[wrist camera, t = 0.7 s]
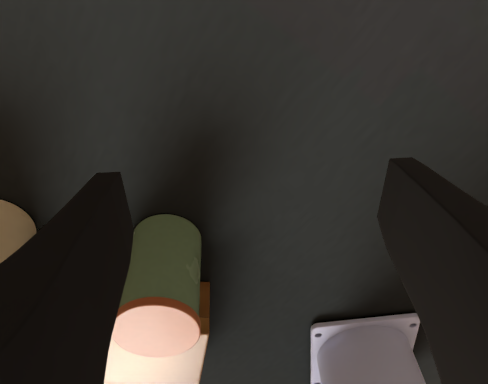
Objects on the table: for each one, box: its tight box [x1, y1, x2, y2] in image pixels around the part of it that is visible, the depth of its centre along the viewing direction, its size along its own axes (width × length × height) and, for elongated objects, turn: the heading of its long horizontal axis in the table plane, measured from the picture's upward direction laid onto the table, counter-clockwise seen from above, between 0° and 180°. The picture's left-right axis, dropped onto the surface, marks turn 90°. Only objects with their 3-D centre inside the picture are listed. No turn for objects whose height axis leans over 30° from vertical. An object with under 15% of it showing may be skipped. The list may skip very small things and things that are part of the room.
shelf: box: [104, 281, 210, 384], centre depth 28 cm, size 17×9×5 cm, turn 80°
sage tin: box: [112, 214, 201, 358], centre depth 23 cm, size 4×4×6 cm
